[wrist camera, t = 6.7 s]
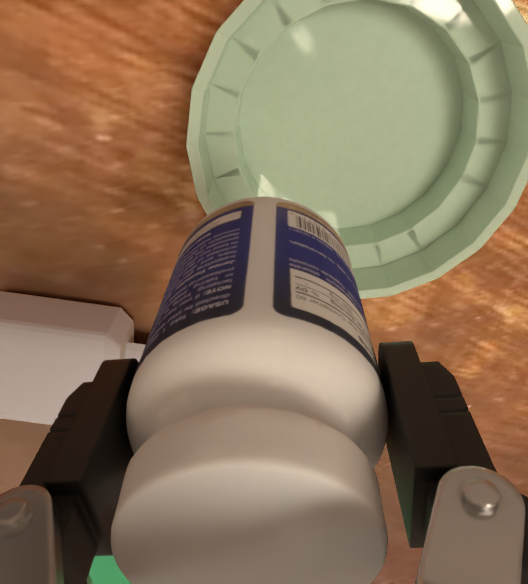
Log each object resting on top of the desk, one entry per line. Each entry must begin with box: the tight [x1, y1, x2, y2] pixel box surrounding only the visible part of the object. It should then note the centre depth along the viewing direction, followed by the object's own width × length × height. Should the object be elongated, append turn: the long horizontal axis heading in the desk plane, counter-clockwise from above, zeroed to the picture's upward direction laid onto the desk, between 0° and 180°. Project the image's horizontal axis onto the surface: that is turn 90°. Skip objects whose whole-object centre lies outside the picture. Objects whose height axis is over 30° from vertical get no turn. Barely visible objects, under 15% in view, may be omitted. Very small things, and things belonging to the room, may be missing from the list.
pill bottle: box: [111, 197, 388, 584], centre depth 13 cm, size 6×6×10 cm
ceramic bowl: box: [186, 0, 528, 299], centre depth 27 cm, size 17×17×6 cm
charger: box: [0, 291, 146, 425], centre depth 37 cm, size 5×9×15 cm
